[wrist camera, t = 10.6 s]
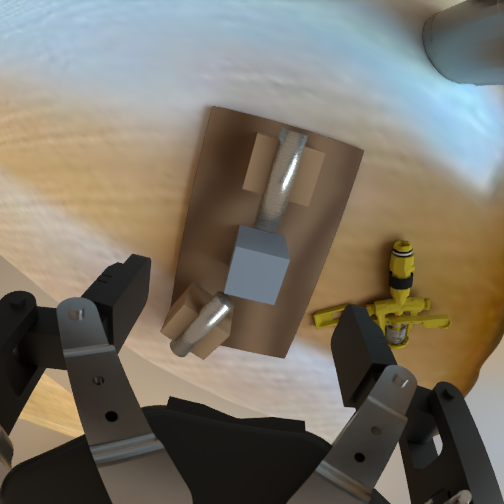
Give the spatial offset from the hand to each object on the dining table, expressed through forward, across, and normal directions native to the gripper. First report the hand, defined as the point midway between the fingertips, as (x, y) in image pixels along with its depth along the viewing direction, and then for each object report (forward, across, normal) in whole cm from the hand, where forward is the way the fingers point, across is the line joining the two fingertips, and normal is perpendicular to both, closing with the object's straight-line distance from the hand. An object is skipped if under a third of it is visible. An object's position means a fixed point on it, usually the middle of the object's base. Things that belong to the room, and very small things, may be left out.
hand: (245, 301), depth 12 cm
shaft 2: (+18, -2, -2) cm, 18 cm away
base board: (+22, -1, +7) cm, 24 cm away
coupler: (+21, -2, +7) cm, 23 cm away
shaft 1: (+18, +3, +15) cm, 24 cm away
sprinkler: (+23, -19, +10) cm, 32 cm away
